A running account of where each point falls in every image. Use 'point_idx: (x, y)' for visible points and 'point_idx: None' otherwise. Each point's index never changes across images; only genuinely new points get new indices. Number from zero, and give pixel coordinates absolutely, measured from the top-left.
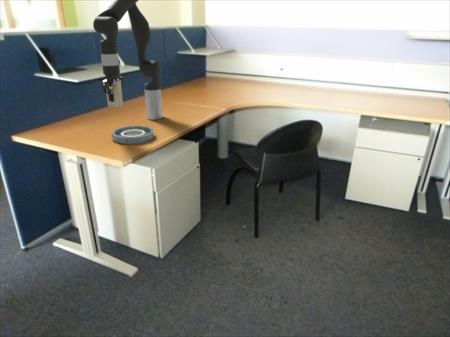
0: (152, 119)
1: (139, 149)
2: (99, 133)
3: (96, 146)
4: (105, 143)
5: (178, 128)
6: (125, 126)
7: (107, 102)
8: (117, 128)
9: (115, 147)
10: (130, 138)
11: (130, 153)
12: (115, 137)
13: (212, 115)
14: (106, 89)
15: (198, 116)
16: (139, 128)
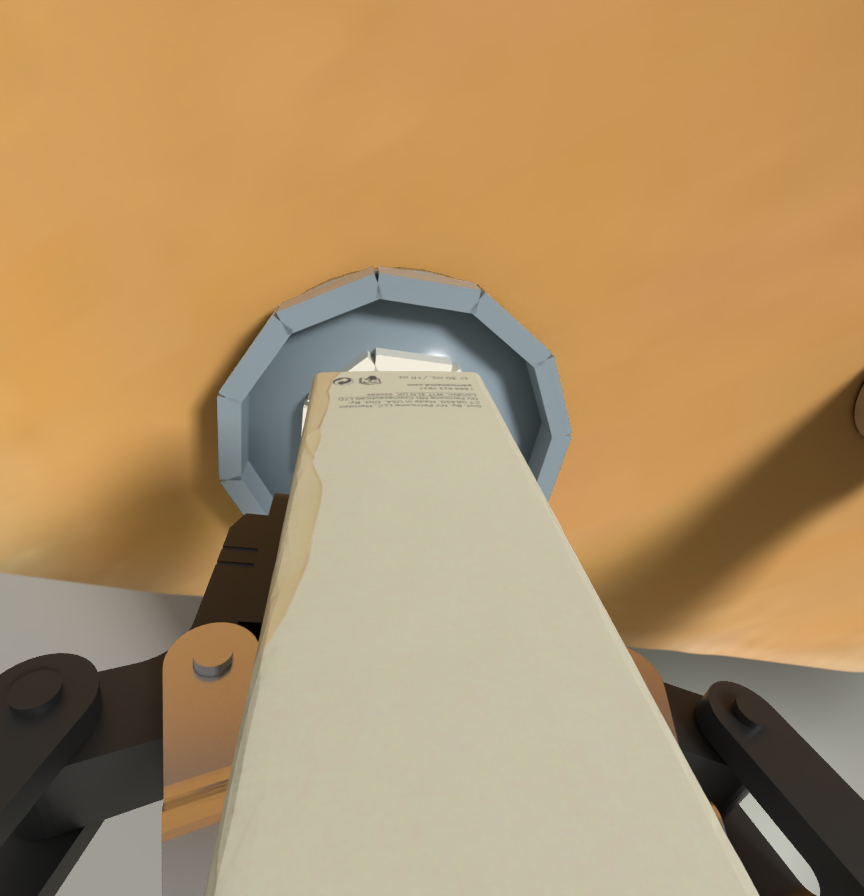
0: (859, 394)
1: (177, 559)
2: (451, 37)
3: (72, 227)
4: (183, 274)
5: (621, 606)
6: (532, 336)
7: (308, 407)
8: (459, 287)
9: (135, 402)
10: (238, 502)
11: (82, 541)
12: (233, 370)
13: (859, 670)
14: (257, 679)
15: (860, 621)
16: (541, 438)
